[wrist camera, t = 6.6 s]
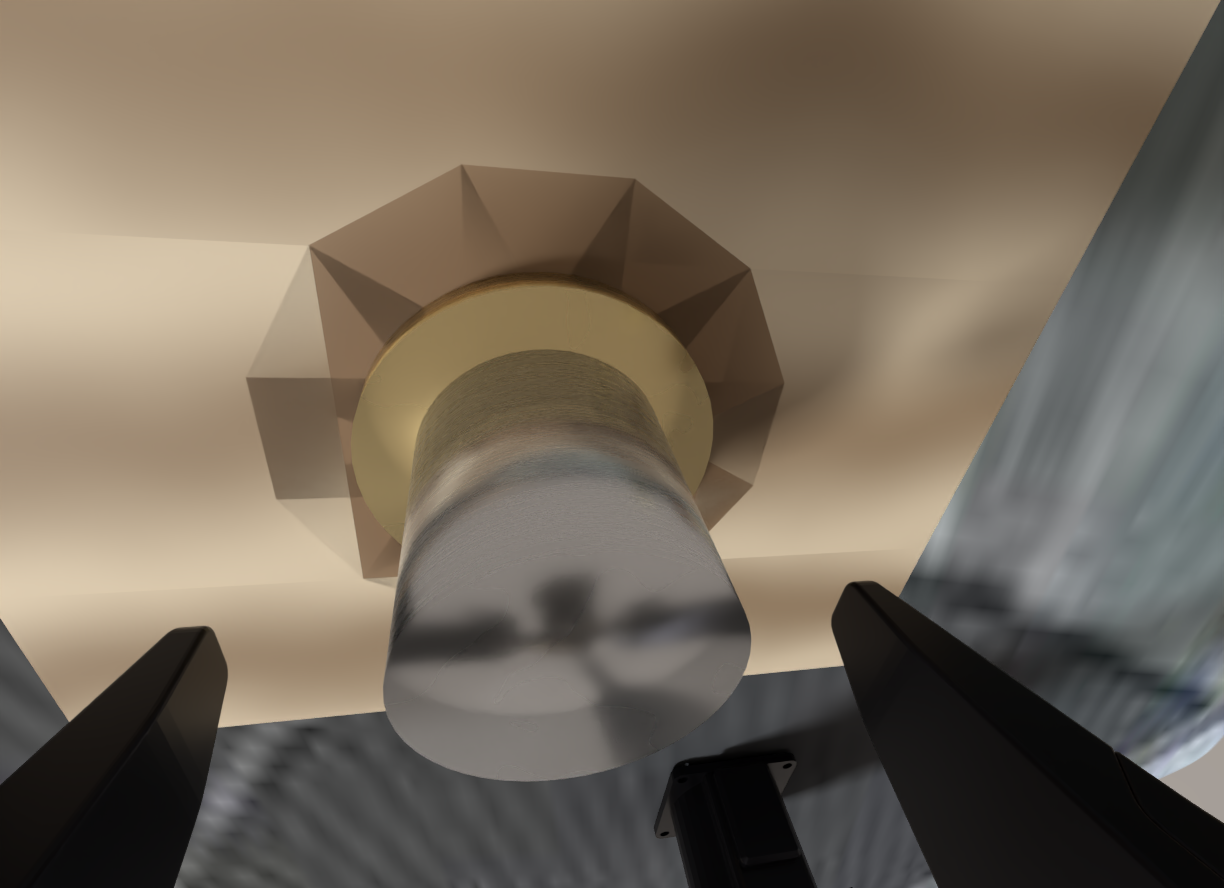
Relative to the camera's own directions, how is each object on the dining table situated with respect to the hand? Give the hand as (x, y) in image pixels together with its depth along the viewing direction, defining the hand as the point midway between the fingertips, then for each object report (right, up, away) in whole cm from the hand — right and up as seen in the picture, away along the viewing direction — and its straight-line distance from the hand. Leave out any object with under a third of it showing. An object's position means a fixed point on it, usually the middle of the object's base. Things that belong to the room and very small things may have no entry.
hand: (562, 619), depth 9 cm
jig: (-2, +5, +7) cm, 9 cm away
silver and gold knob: (-1, +5, +7) cm, 8 cm away
